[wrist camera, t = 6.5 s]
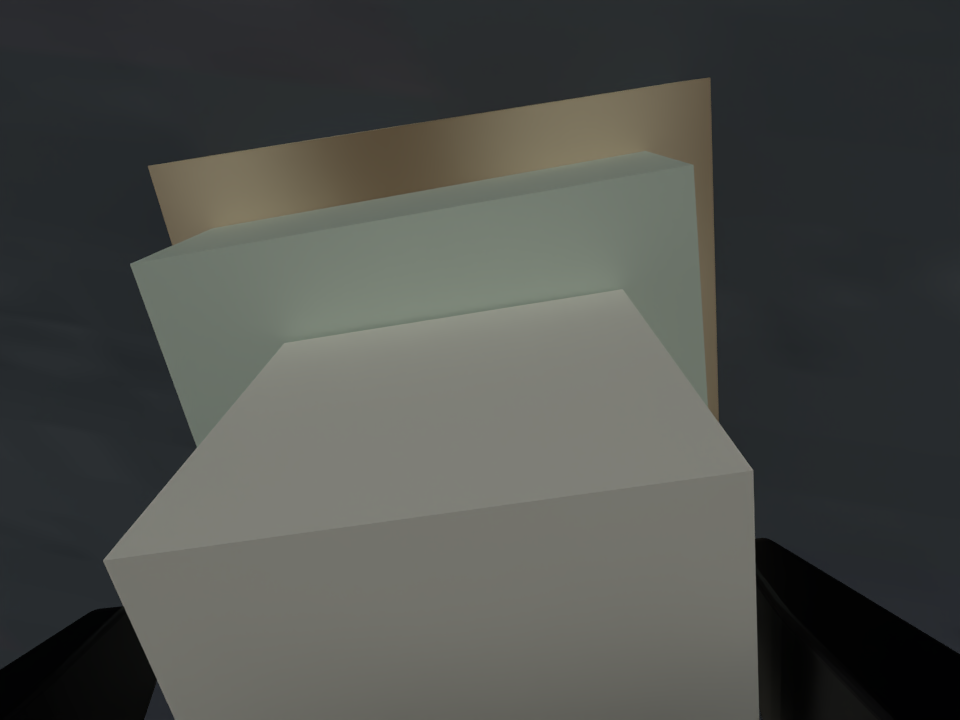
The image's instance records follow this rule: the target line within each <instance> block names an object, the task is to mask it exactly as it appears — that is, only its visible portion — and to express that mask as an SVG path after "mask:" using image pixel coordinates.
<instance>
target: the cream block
mask: <svg viewBox="0 0 960 720" xmlns="http://www.w3.org/2000/svg"><path fill="white" fill-rule="evenodd" d="M103 562H104V564H105V566H106V569H107V571H108V573H109V575H110V577H111V580H112V582H113V584H114V586H115V588H116V591H117V593H118V595H119V597H120V599H121V602H122V604H123V606H124V608H125V610H126V613H127V615H128V617H129V619H130V621H131V624H132V626H133V628H134V630H135V632H136V635H137V637H138V639H139V641H140V643H141V646H142V648H143V650H144V652H145V654H146V657H147V659H148V661H149V663H150V665H151V668H152V670H153V672H154V674H155V676H156V679H157V681H158V683H159V685H160V687H161V690H162V692H163V694H164V696H165V698H166V701H167V703H168V705H169V707H170V709H171V712H172V714H173V716H174V718H175V720H759V690H758V648H757V606H756V565H755V523H754V481H753V469H752V468H751V467H750V465H749V464H748V463H747V461H746V460H745V458H744V457H743V456H742V454H741V453H740V451H739V450H738V449H737V447H736V446H735V444H734V443H733V442H732V440H731V439H730V438H729V436H728V435H727V433H726V432H725V431H724V429H723V428H722V426H721V425H720V424H719V422H718V421H717V419H716V418H715V417H714V415H713V414H712V413H711V411H710V410H709V408H708V407H707V406H706V404H705V403H704V401H703V400H702V399H701V397H700V396H699V394H698V393H697V392H696V390H695V389H694V387H693V386H692V385H691V383H690V382H689V381H688V379H687V378H686V376H685V375H684V374H683V372H682V371H681V369H680V368H679V367H678V365H677V364H676V362H675V361H674V360H673V358H672V357H671V356H670V354H669V353H668V351H667V350H666V349H665V347H664V346H663V344H662V343H661V342H660V340H659V339H658V337H657V336H656V335H655V333H654V332H653V331H652V329H651V328H650V326H649V325H648V324H647V322H646V321H645V319H644V318H643V317H642V315H641V314H640V312H639V311H638V310H637V308H636V307H635V306H634V304H633V303H632V301H631V300H630V299H629V297H628V296H627V294H626V293H625V292H624V290H623V289H620V290H614V291H608V292H601V293H595V294H589V295H582V296H576V297H570V298H564V299H557V300H551V301H545V302H538V303H532V304H526V305H520V306H513V307H507V308H501V309H495V310H488V311H482V312H476V313H469V314H463V315H457V316H451V317H444V318H438V319H432V320H426V321H419V322H413V323H407V324H400V325H394V326H388V327H382V328H375V329H369V330H363V331H357V332H350V333H344V334H338V335H331V336H325V337H319V338H313V339H306V340H300V341H294V342H288V343H284V344H283V345H282V346H281V348H280V349H279V350H278V351H277V352H276V354H275V355H274V356H273V357H272V358H271V360H270V361H269V362H268V363H267V364H266V366H265V367H264V368H263V369H262V370H261V372H260V373H259V374H258V375H257V376H256V378H255V379H254V380H253V381H252V382H251V384H250V385H249V386H248V387H247V388H246V390H245V391H244V392H243V393H242V394H241V396H240V397H239V398H238V399H237V400H236V402H235V403H234V404H233V405H232V406H231V408H230V409H229V410H228V411H227V412H226V414H225V415H224V416H223V417H222V418H221V420H220V421H219V422H218V423H217V424H216V426H215V427H214V428H213V429H212V430H211V432H210V433H209V434H208V435H207V436H206V438H205V439H204V440H203V441H202V442H201V444H200V445H199V446H198V447H197V448H196V450H195V451H194V452H193V453H192V454H191V456H190V457H189V458H188V459H187V460H186V462H185V463H184V464H183V465H182V466H181V468H180V469H179V470H178V471H177V472H176V474H175V475H174V476H173V477H172V478H171V480H170V481H169V482H168V483H167V484H166V486H165V487H164V488H163V489H162V490H161V492H160V493H159V494H158V495H157V496H156V498H155V499H154V500H153V501H152V502H151V504H150V505H149V506H148V507H147V508H146V510H145V511H144V512H143V513H142V514H141V516H140V517H139V518H138V519H137V520H136V522H135V523H134V524H133V525H132V526H131V528H130V529H129V530H128V531H127V532H126V534H125V535H124V536H123V537H122V538H121V540H120V541H119V542H118V543H117V544H116V546H115V547H114V548H113V549H112V550H111V552H110V553H109V554H108V555H107V556H106V558H105V559H104V560H103Z"/></svg>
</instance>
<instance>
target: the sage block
mask: <svg viewBox="0 0 960 720" xmlns="http://www.w3.org/2000/svg"><path fill="white" fill-rule="evenodd" d="M130 265H131V268H132V271H133V274H134V276H135V279H136V282H137V285H138V287H139V290H140V293H141V296H142V298H143V301H144V304H145V306H146V309H147V312H148V315H149V317H150V320H151V323H152V326H153V328H154V331H155V334H156V337H157V339H158V342H159V345H160V347H161V350H162V353H163V356H164V358H165V361H166V364H167V367H168V369H169V372H170V375H171V378H172V380H173V383H174V386H175V388H176V391H177V394H178V397H179V399H180V402H181V405H182V408H183V410H184V413H185V416H186V419H187V421H188V424H189V427H190V430H191V432H192V435H193V438H194V440H195V443H196V446H197V447H198V446H199V445H200V444H201V442H202V441H203V440H204V439H205V438H206V436H207V435H208V434H209V433H210V432H211V430H212V429H213V428H214V427H215V426H216V424H217V423H218V422H219V421H220V420H221V418H222V417H223V416H224V415H225V414H226V412H227V411H228V410H229V409H230V408H231V406H232V405H233V404H234V403H235V402H236V400H237V399H238V398H239V397H240V396H241V394H242V393H243V392H244V391H245V390H246V388H247V387H248V386H249V385H250V384H251V382H252V381H253V380H254V379H255V378H256V376H257V375H258V374H259V373H260V372H261V370H262V369H263V368H264V367H265V366H266V364H267V363H268V362H269V361H270V360H271V358H272V357H273V356H274V355H275V354H276V352H277V351H278V350H279V349H280V348H281V346H282V345H283V344H284V343H288V342H294V341H300V340H306V339H313V338H319V337H325V336H331V335H338V334H344V333H350V332H357V331H363V330H369V329H375V328H382V327H388V326H394V325H400V324H407V323H413V322H419V321H426V320H432V319H438V318H444V317H451V316H457V315H463V314H469V313H476V312H482V311H488V310H495V309H501V308H507V307H513V306H520V305H526V304H532V303H538V302H545V301H551V300H557V299H564V298H570V297H576V296H582V295H589V294H595V293H601V292H608V291H614V290H620V289H623V290H624V292H625V293H626V294H627V296H628V297H629V299H630V300H631V301H632V303H633V304H634V306H635V307H636V308H637V310H638V311H639V312H640V314H641V315H642V317H643V318H644V319H645V321H646V322H647V324H648V325H649V326H650V328H651V329H652V331H653V332H654V333H655V335H656V336H657V337H658V339H659V340H660V342H661V343H662V344H663V346H664V347H665V349H666V350H667V351H668V353H669V354H670V356H671V357H672V358H673V360H674V361H675V362H676V364H677V365H678V367H679V368H680V369H681V371H682V372H683V374H684V375H685V376H686V378H687V379H688V381H689V382H690V383H691V385H692V386H693V387H694V389H695V390H696V392H697V393H698V394H699V396H700V397H701V399H702V400H703V401H704V403H705V404H706V406H707V407H708V399H707V382H706V365H705V349H704V332H703V315H702V298H701V282H700V265H699V248H698V232H697V215H696V198H695V181H694V165H692V164H689V163H685V162H682V161H679V160H675V159H672V158H668V157H665V156H662V155H658V154H655V153H651V152H648V151H642V152H636V153H631V154H625V155H619V156H614V157H608V158H603V159H597V160H591V161H586V162H580V163H575V164H569V165H564V166H558V167H552V168H547V169H541V170H536V171H530V172H524V173H519V174H513V175H508V176H502V177H496V178H491V179H485V180H480V181H474V182H468V183H463V184H457V185H452V186H446V187H440V188H435V189H429V190H424V191H418V192H413V193H407V194H401V195H396V196H390V197H385V198H379V199H373V200H368V201H362V202H357V203H351V204H345V205H340V206H334V207H329V208H323V209H317V210H312V211H306V212H301V213H295V214H289V215H284V216H278V217H273V218H267V219H261V220H256V221H250V222H245V223H239V224H234V225H228V226H222V227H217V228H212V229H210V230H207V231H205V232H203V233H200V234H198V235H196V236H193V237H191V238H189V239H187V240H184V241H182V242H180V243H177V244H175V245H173V246H170V247H168V248H166V249H164V250H161V251H159V252H157V253H154V254H152V255H150V256H148V257H145V258H143V259H141V260H138V261H136V262H134V263H131V264H130Z"/></svg>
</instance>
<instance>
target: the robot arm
mask: <svg viewBox="0 0 960 720" xmlns="http://www.w3.org/2000/svg"><path fill="white" fill-rule="evenodd" d="M755 565H756V606H757V648H758V690H759V709H760V712H761V715H762V718H763V720H960V654H959V653H957V652H955V651H954V650H952V649H950V648H949V647H947V646H945V645H944V644H942V643H941V642H939V641H937V640H936V639H934V638H932V637H931V636H929V635H927V634H926V633H924V632H922V631H921V630H919V629H917V628H916V627H914V626H912V625H911V624H909V623H908V622H906V621H904V620H903V619H901V618H899V617H898V616H896V615H894V614H893V613H891V612H889V611H888V610H886V609H884V608H883V607H881V606H879V605H878V604H876V603H874V602H873V601H871V600H870V599H868V598H866V597H865V596H863V595H861V594H860V593H858V592H856V591H855V590H853V589H851V588H850V587H848V586H846V585H845V584H843V583H841V582H840V581H838V580H836V579H835V578H833V577H832V576H830V575H828V574H827V573H825V572H823V571H822V570H820V569H818V568H817V567H815V566H813V565H812V564H810V563H808V562H807V561H805V560H803V559H802V558H800V557H798V556H797V555H795V554H794V553H792V552H790V551H789V550H787V549H785V548H784V547H782V546H780V545H779V544H777V543H775V542H774V541H772V540H770V539H767V538H757V539H755ZM156 681H157V679H156V676H155V674H154V672H153V670H152V668H151V665H150V663H149V661H148V659H147V657H146V654H145V652H144V650H143V648H142V646H141V643H140V641H139V639H138V637H137V635H136V632H135V630H134V628H133V626H132V624H131V621H130V619H129V617H128V615H127V613H126V610H125V608H124V606H121V607H111V608H102V609H97V610H94V611H91V612H89V613H88V614H86V615H85V616H83V617H81V618H80V619H78V620H77V621H75V622H74V623H72V624H71V625H69V626H67V627H66V628H64V629H63V630H61V631H60V632H58V633H57V634H55V635H54V636H52V637H50V638H49V639H47V640H46V641H44V642H43V643H41V644H40V645H38V646H36V647H35V648H33V649H32V650H30V651H29V652H27V653H26V654H24V655H22V656H21V657H19V658H18V659H16V660H15V661H13V662H12V663H10V664H8V665H7V666H5V667H4V668H2V669H1V670H0V720H144V718H145V715H146V712H147V709H148V706H149V703H150V700H151V697H152V694H153V691H154V688H155V685H156Z"/></svg>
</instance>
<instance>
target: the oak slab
mask: <svg viewBox="0 0 960 720" xmlns="http://www.w3.org/2000/svg"><path fill="white" fill-rule="evenodd" d="M642 151H648V152H651V153H655V154H658V155H662V156H665V157H668V158H672V159H675V160H679V161H682V162H685V163H689V164H692V165H694V181H695V198H696V215H697V232H698V248H699V265H700V282H701V298H702V315H703V332H704V349H705V365H706V382H707V399H708V408H709V410H710V411H711V413H712V414H713V415H714V417H715V418H716V419H717V421H718V422H719V413H718V372H717V331H716V291H715V250H714V209H713V169H712V128H711V87H710V78H703V79H696V80H689V81H682V82H675V83H669V84H662V85H656V86H650V87H643V88H637V89H631V90H624V91H618V92H612V93H605V94H599V95H593V96H586V97H580V98H574V99H567V100H561V101H555V102H548V103H542V104H535V105H529V106H523V107H516V108H510V109H504V110H497V111H491V112H485V113H478V114H472V115H466V116H459V117H453V118H447V119H440V120H434V121H428V122H421V123H415V124H409V125H402V126H396V127H390V128H383V129H377V130H371V131H364V132H358V133H352V134H345V135H339V136H332V137H326V138H320V139H313V140H307V141H301V142H294V143H288V144H282V145H275V146H269V147H263V148H256V149H250V150H244V151H237V152H231V153H225V154H218V155H212V156H206V157H199V158H193V159H187V160H181V161H175V162H169V163H163V164H157V165H151V166H148V168H149V172H150V175H151V178H152V181H153V184H154V188H155V191H156V194H157V197H158V200H159V204H160V207H161V210H162V213H163V217H164V220H165V223H166V226H167V229H168V233H169V236H170V239H171V242H172V246H173V245H175V244H177V243H180V242H182V241H184V240H187V239H189V238H191V237H193V236H196V235H198V234H200V233H203V232H205V231H207V230H210V229H212V228H217V227H222V226H228V225H234V224H239V223H245V222H250V221H256V220H261V219H267V218H273V217H278V216H284V215H289V214H295V213H301V212H306V211H312V210H317V209H323V208H329V207H334V206H340V205H345V204H351V203H357V202H362V201H368V200H373V199H379V198H385V197H390V196H396V195H401V194H407V193H413V192H418V191H424V190H429V189H435V188H440V187H446V186H452V185H457V184H463V183H468V182H474V181H480V180H485V179H491V178H496V177H502V176H508V175H513V174H519V173H524V172H530V171H536V170H541V169H547V168H552V167H558V166H564V165H569V164H575V163H580V162H586V161H591V160H597V159H603V158H608V157H614V156H619V155H625V154H631V153H636V152H642Z"/></svg>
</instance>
